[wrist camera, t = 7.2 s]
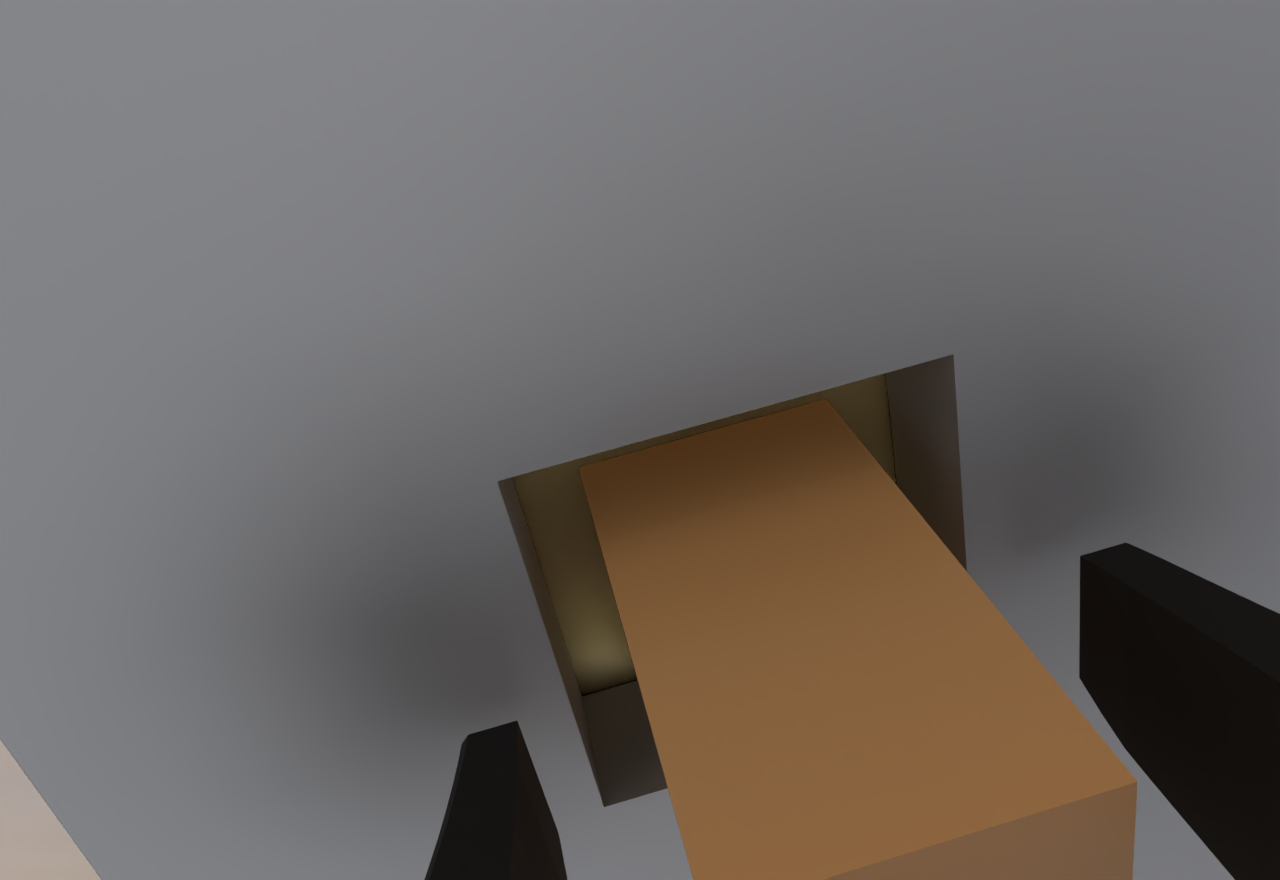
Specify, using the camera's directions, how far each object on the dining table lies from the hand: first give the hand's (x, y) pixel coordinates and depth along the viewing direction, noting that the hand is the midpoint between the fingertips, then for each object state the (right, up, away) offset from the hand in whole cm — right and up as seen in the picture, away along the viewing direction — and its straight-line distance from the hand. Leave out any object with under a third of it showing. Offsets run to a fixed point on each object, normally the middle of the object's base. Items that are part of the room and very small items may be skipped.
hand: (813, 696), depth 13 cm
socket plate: (-1, +2, +4) cm, 4 cm away
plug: (-1, +2, +4) cm, 5 cm away
